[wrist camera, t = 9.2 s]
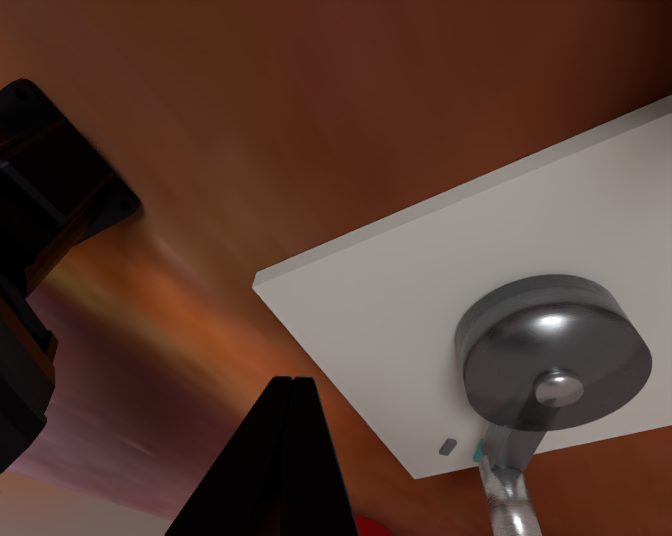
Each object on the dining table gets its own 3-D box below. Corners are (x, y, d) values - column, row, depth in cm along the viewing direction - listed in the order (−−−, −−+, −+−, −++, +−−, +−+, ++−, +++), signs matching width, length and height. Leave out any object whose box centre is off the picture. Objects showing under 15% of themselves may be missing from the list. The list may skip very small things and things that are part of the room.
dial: (474, 269, 20) (517, 399, 15) (650, 278, 20) (760, 412, 14) (425, 439, 29) (440, 560, 23) (547, 446, 29) (592, 569, 23)
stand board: (413, 463, 34) (414, 483, 33) (256, 272, 23) (250, 291, 22) (733, 392, 27) (750, 413, 26) (730, 69, 16) (759, 81, 15)
